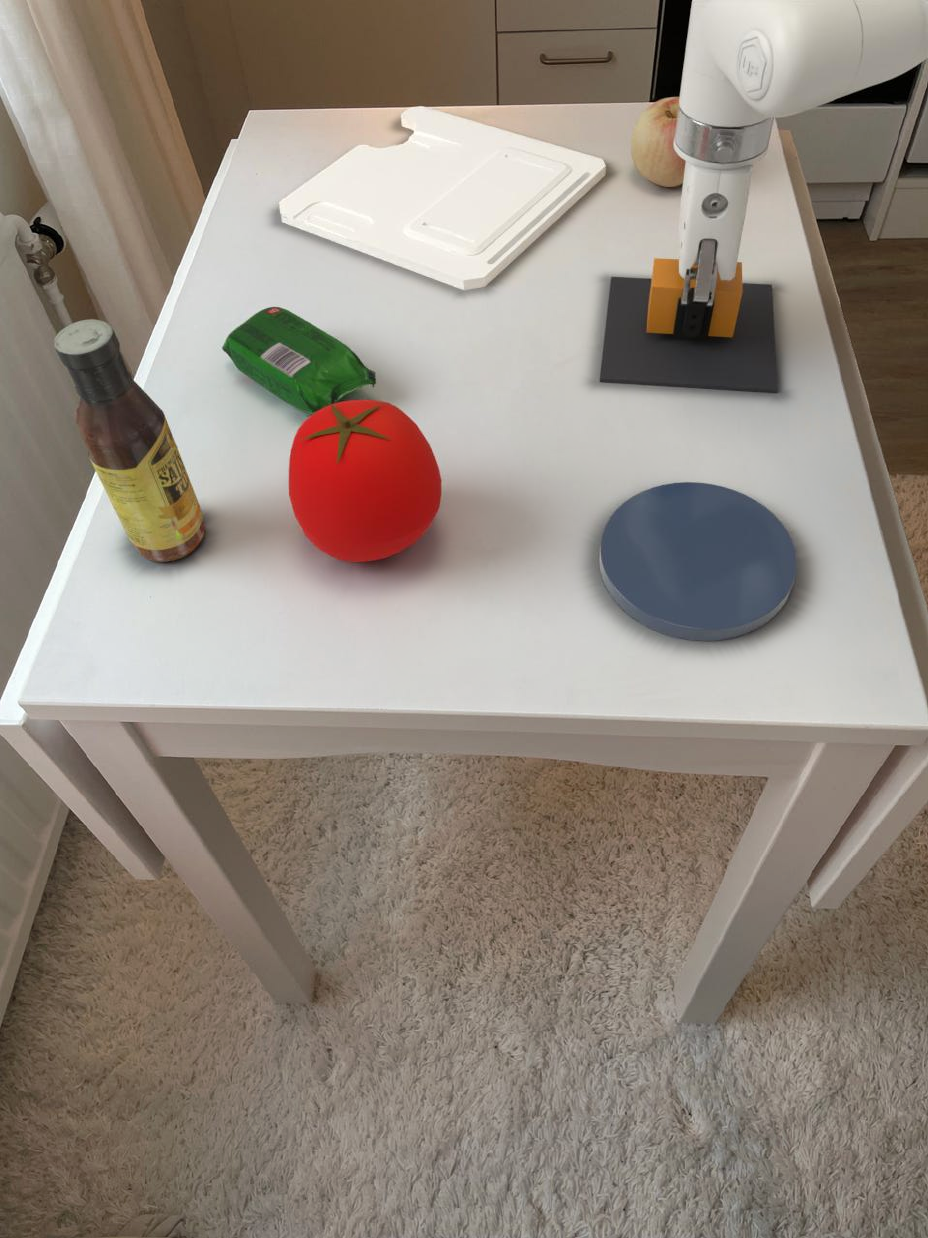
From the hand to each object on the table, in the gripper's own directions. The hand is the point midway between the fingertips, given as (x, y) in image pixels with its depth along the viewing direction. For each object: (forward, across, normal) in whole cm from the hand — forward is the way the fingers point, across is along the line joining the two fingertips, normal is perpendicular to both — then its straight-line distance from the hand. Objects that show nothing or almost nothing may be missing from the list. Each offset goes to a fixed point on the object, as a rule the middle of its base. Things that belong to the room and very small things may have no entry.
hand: (690, 318), depth 91 cm
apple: (+2, +28, +3) cm, 28 cm away
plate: (+2, -29, -1) cm, 29 cm away
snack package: (+2, -11, +36) cm, 38 cm away
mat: (+2, 0, 0) cm, 2 cm away
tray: (+2, +23, +28) cm, 36 cm away
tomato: (+2, -29, +25) cm, 38 cm away
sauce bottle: (+2, -31, +42) cm, 52 cm away
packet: (0, 0, 0) cm, 0 cm away
